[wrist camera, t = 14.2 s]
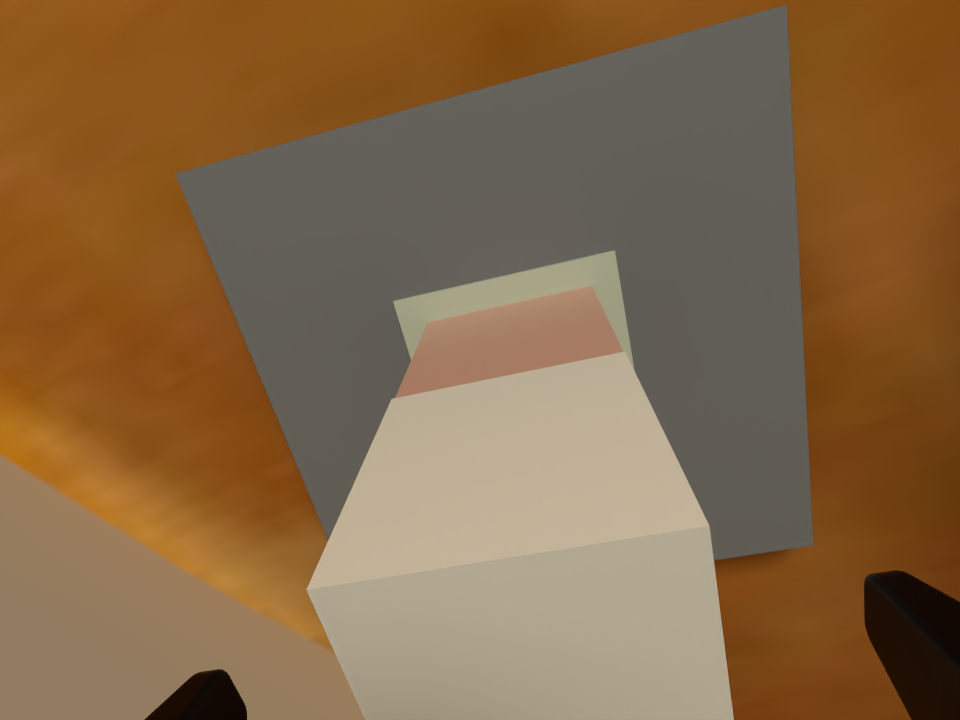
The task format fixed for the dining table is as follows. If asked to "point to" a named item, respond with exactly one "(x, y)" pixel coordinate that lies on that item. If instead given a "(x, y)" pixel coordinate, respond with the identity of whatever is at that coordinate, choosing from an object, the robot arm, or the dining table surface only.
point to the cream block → (525, 559)
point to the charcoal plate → (545, 256)
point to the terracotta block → (510, 341)
